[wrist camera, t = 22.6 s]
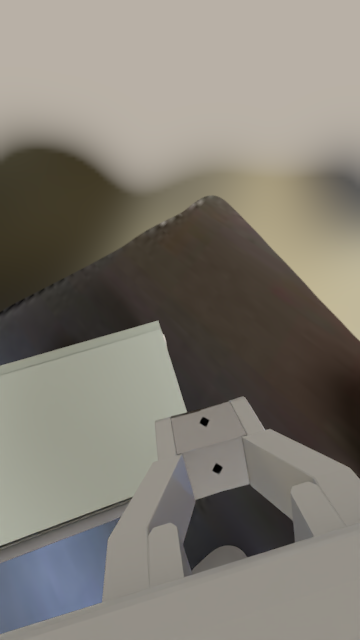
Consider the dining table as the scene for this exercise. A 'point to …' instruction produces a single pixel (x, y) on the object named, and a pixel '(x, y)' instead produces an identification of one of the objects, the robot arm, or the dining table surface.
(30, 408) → the cover
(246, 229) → the dining table surface
